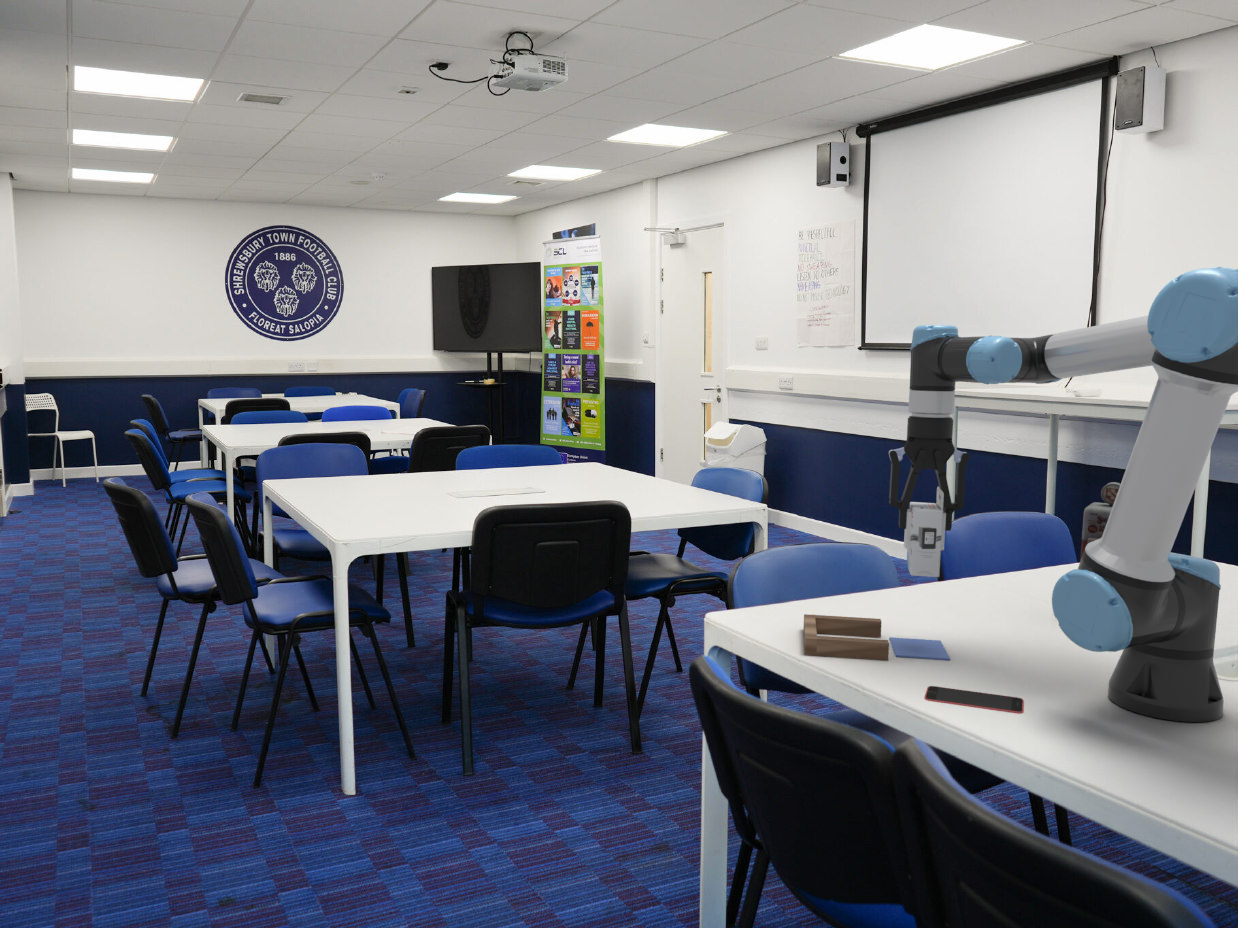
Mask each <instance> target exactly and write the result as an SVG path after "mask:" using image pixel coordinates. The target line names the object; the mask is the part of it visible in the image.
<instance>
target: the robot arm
mask: <svg viewBox="0 0 1238 928" xmlns="http://www.w3.org/2000/svg"><path fill="white" fill-rule="evenodd" d="M1151 303H1152V304H1151V305H1150V308H1149V311H1148V315H1144V316H1138V317H1134V318H1128V319H1122V320H1118V321H1112V322H1108V323H1104V324H1098V325H1094V326H1093V325H1092V326H1089V327H1082V328H1078V329H1073V330H1067V331H1061V332H1057V333H1053V334H1047V335H1041V336H1036V337H1010V336H1009V337H1007V336H1001V335H984V336H959V330H958V329H959V328H958V327H957V326H955V325H946V324H934V325H932V324H929V325H928V324H926V325H925V324H924V325H918V326H916V327H915V328H914V330H913V331H912V337H911V345H910V350H909V351H910V371H909V372H910V373H909V391H908V392H909V395H908V413H910V414H911V415H910V416H908V417H907V428H906V429H907V430H906V441H905V442H904V444H903V447H900V448H896V449H890V450H888V452H887V453H888V456H889V459H890V479H889V491H888V493H889V495H888V496H889V497H888V503H889V505H890V506H891V507H893V508H895V509H898V527H899V528H900V529H903V530H904V534H903V535H904V536H903V538H904V539H903V547H904V549H906V550H907V549H910V540H911V519H912V511H911V510H910V509H909V507H910V502H911V500H912V496H913V493H914V490H915V487H916V484H917V481H918V478H919V476H920V473H921V471H922V470H927V469H929V470H932V471H933V470H934V472H935V474H936V478H937V483H938V487H939V488H940V489H941V490H942V491H943V493H944V501H943V519H942V537H941V551H945V538H946V531H948V532H951V529H952V526H953V525H952V524H953V513H954V512H957V511H959V510H960V511H961V510H963V509H965V498H966V497H965V493H966V492H965V491H966V489H965V488H966V473H967V472H966V469H967V465H968V463H969V460H970V457H971V456H970V454H969V453H968V452H967V451H961V450H958V449H956V448H955V446H954V442H953V435H954V434H953V432H954V419H953V417H951V415H953V414H954V413H955V392H956V383H957V382H958V383H960V382H961V383H971V384H973V383H976V384H977V383H978V384H983V385H984V384H985V385H998V384H1016V383H1018V384H1019V383H1020V384H1024V383H1025V384H1027V383H1029V384H1037V385H1039V384H1040V385H1043V384H1050V383H1057V382H1059V381H1061V380H1063V379H1067V378H1075V377H1083V376H1088V375H1089V376H1090V375H1095V374H1096V375H1097V374H1102V373H1109V372H1119V371H1123V370H1131V369H1138V368H1144V367H1146V368H1147V367H1152V368H1153V369H1154V370H1155V372H1156V374H1157V377H1158V378H1157V381H1156V383H1155V384H1156V385H1155V387H1154V390H1153V392H1152V395H1151V397H1150V398H1151V399H1150V400H1149V404H1148V405H1147V406H1148V407H1147V409H1146V411H1145V412H1146V413H1145V415H1144V418H1143V420H1142V424H1141V426H1140V428H1139V432H1138V435H1137V437H1136V441H1135V444H1134V445H1133V448H1132V452H1131V453H1130V454H1131V455H1130V457H1129V460H1128V462H1127V465H1126V469H1125V471H1124V473H1123V477H1122V480H1121V483H1120V484H1121V485H1120V488H1119V490H1118V493H1117V496H1116V499H1115V502H1114V504H1113V507H1112V510H1111V513H1110V516H1109V518H1108V521H1107V524H1106V527H1105V530H1104V533H1103V535H1102V537H1101V538H1100V539H1098V540H1095V541H1093V542H1090V543H1088V544H1087V546H1086V547H1085V550H1084V553H1083V556H1082V558H1081V557H1080V558H1081V561H1079V564H1078V567H1077V569H1076V568H1075V569H1072V570H1070V571H1068V572H1067V573H1064V574H1063V575H1061V576H1060V577H1059V578H1058V579H1057V580H1056V582H1055V584H1054V586H1053V589H1052V592H1051V593H1052V595H1051V607H1052V612H1053V616H1054V618H1055V619H1056V620H1057V621H1058V626H1059V628H1060V630H1061V632H1063V634H1064V635H1065V636H1066V638H1067V639H1069V640H1070V642H1072V643H1074V644H1075V645H1077V646H1078V647H1080V648H1082V649H1083V650H1087V651H1090V652H1096V653H1103V652H1104V653H1105V652H1109V653H1110V652H1111V653H1112V652H1113V653H1115V652H1120V651H1122V652H1121V655H1120V656H1119V659H1118V661H1117V663H1116V665H1115V668H1114V669H1113V672H1112V674H1111V676H1110V678H1109V681H1108V688H1107V697H1108V698H1109V700H1110V701H1111V702H1113V703H1114V704H1116V705H1118V706H1119V707H1121V708H1123V709H1126V710H1128V711H1130V712H1131V711H1132V712H1134V713H1137V714H1140V715H1145V716H1148V717H1152V718H1157V719H1162V720H1166V721H1167V720H1168V721H1174V722H1176V721H1177V722H1188V723H1189V722H1190V723H1199V722H1200V723H1202V722H1210V721H1216V720H1218V719H1220V718H1222V717H1223V714H1224V712H1223V711H1224V697H1223V692H1222V689H1221V685H1220V682H1219V678H1218V675H1217V671H1216V667H1215V665H1214V654H1215V653H1214V652H1215V642H1216V633H1217V632H1216V630H1217V620H1218V608H1219V602H1220V601H1219V600H1220V598H1219V597H1220V590H1221V588H1222V587H1221V586H1222V585H1221V584H1220V582H1221V581H1220V579H1221V577H1220V575H1221V569H1220V568H1219V565H1218V564H1217V563H1216V562H1214V561H1212V560H1210V559H1206V558H1203V557H1199V556H1193V555H1187V554H1183V553H1182V554H1181V553H1177V552H1171V551H1172V549H1173V546H1174V544H1175V541H1176V539H1177V537H1178V533H1179V531H1180V528H1181V526H1182V523H1183V521H1184V518H1185V515H1186V513H1187V510H1188V507H1189V505H1190V502H1191V501H1192V500H1191V499H1192V497H1193V495H1194V492H1195V489H1196V488H1197V484H1198V482H1199V479H1200V477H1201V474H1202V471H1203V468H1204V466H1205V464H1206V461H1207V459H1208V456H1209V454H1210V452H1211V448H1212V447H1213V443H1214V440H1215V438H1216V436H1217V432H1218V431H1219V429H1220V428H1219V427H1220V425H1221V422H1222V420H1223V417H1224V415H1225V412H1226V409H1227V406H1228V404H1229V402H1230V399H1231V397H1232V396H1233V395H1234V394H1235V393H1238V269H1236V268H1233V267H1222V266H1217V267H1210V268H1209V267H1208V268H1206V267H1205V268H1198V269H1193V270H1190V271H1186V272H1184V273H1183V274H1181V275H1179V276H1177V277H1174V278H1173V279H1171V280H1170V281H1169V282H1168V283H1167V284H1166V285H1165V286H1163V287H1162V289H1161V290H1160V291H1159V292H1158V294H1157V295H1156V297H1155V298H1154V300H1153V302H1151ZM904 455H906V456H907V458H908V459H909V461H910V463H911V466H910V469H909V474H908V477H907V479H906V483H905V487H904V489H903V492H902V494H901V498H900V500H898V499H899V481H900V471H901V469H900V467H901V466H900V465H901V464H900V462H902V460H903V458H904V457H903V456H904ZM952 456H953V457H954V458H953V459H954V460H953V461H954V462H955V463H956V465H955V466H956V467H955V483H954V502H952V498H951V493H950V489H949V484H948V478H947V475H946V474H947V473H946V468H945V464H946V463H947V462H948V461H949V460H950V458H952Z"/></svg>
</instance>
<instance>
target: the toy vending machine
mask: <svg viewBox="0 0 1238 928" xmlns="http://www.w3.org/2000/svg"><path fill="white" fill-rule="evenodd" d="M1120 485H1121V483H1120V482H1116V481H1115V482H1114V481H1113V482H1108V483H1107V484H1106V485H1104V486H1103V487H1102V488H1101V491H1100V498H1101V500H1103V501H1104V502H1096V501H1094V502H1092V503H1090V504H1089V505H1087V506H1086V507H1085V508H1084V509H1083V510H1084V511H1083V517H1082V529H1081V530H1082V531H1081V546H1080V547H1081V548H1080V559H1079V560H1080V561H1081V558H1082V556H1083V553H1084V550H1085V547H1086V546H1087V544H1088V543H1090V542H1093V541H1095V540H1098V539H1100V538H1101V537H1102V535H1103V533H1104V530H1105V527H1106V524H1107V521H1108V518H1109V516H1110V513H1111V510H1112V507H1113V504H1114V502H1115V499H1116V496H1117V493H1118V490H1119V488H1120ZM1080 561H1079V562H1080Z"/></svg>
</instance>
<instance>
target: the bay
mask: <svg viewBox="0 0 1238 928" xmlns="http://www.w3.org/2000/svg"><path fill="white" fill-rule="evenodd" d="M819 634H820V635H819ZM829 635H830V636H829ZM831 635H833V636H831ZM835 635H836V636H835ZM843 636H845V637H843ZM847 636H850V637H847ZM858 637H860V638H858ZM862 637H867V638H862ZM881 637H882V619H881V618H873V617H872V618H871V617H869V618H868V617H856V616H855V617H854V616H842V615H841V616H837V615H820V614H808V613H807V614H803V646H804V649H803V650H804V655H805V656H813V657H814V656H815V657H831V658H845V659H858V660H859V659H860V660H874V661H875V660H876V661H889V655H890V654H889V653H890V643H889V640H888V639H875V638H881Z"/></svg>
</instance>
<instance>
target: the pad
mask: <svg viewBox="0 0 1238 928" xmlns="http://www.w3.org/2000/svg"><path fill="white" fill-rule="evenodd" d="M889 641H890V645H891V647H892V650H893V654H894V656H895V657H896V658H908V659H909V658H910V659H923V660H925V659H926V660H937V661H938V660H940V661H950V660H951V657H950V656H949V653H948V652H947V650H946V648H945V647H944V644H943V642H942V640H939V639H925V638H923V639H922V638H910V637H909V638H908V637H906V638H905V637H893V636H892V637H891V636H890V637H889Z"/></svg>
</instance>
